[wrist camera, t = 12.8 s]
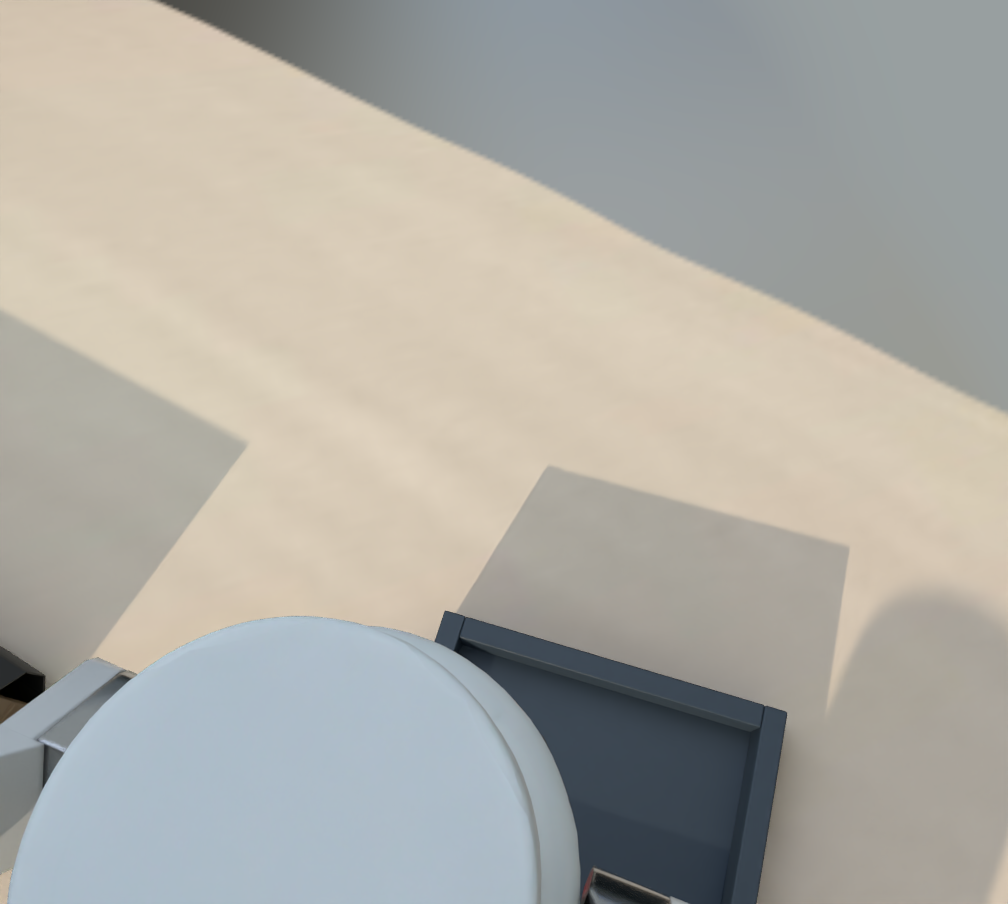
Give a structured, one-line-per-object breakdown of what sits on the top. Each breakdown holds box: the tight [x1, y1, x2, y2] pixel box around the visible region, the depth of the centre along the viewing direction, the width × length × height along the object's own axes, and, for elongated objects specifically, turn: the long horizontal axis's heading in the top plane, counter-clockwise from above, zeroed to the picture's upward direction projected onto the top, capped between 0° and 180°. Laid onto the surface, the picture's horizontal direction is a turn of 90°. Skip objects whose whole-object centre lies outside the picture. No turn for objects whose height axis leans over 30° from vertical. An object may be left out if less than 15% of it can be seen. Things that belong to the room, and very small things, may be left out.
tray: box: [435, 611, 787, 904], centre depth 29 cm, size 13×11×2 cm
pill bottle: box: [7, 616, 581, 904], centre depth 12 cm, size 6×6×10 cm
